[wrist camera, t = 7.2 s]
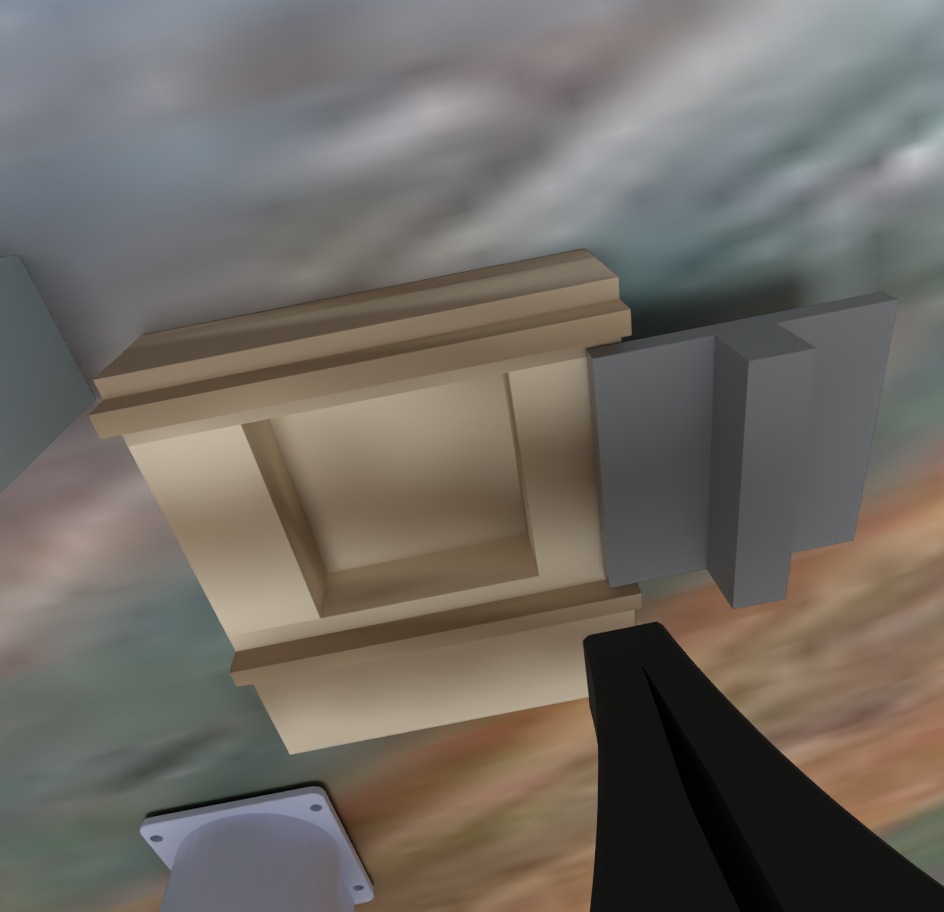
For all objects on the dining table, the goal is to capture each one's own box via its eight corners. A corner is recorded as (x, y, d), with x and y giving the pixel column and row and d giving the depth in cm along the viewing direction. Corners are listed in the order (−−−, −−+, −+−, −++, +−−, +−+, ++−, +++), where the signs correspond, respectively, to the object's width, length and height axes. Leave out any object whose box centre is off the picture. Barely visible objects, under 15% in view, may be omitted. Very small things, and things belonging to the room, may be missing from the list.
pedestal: (612, 622, 24) (645, 707, 20) (302, 682, 24) (286, 776, 20) (585, 248, 16) (629, 286, 13) (141, 335, 17) (76, 395, 13)
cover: (840, 527, 18) (891, 578, 16) (603, 573, 18) (627, 629, 16) (881, 292, 14) (952, 321, 13) (586, 349, 15) (613, 387, 13)
